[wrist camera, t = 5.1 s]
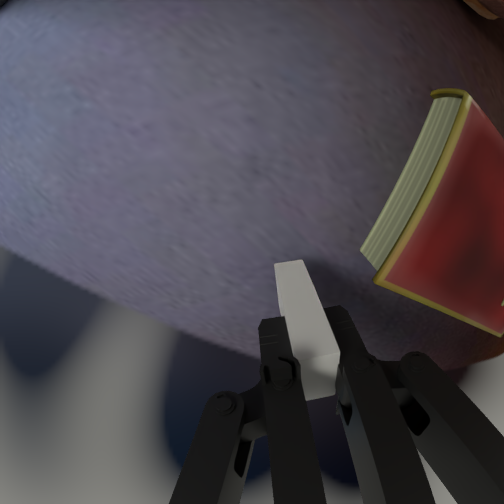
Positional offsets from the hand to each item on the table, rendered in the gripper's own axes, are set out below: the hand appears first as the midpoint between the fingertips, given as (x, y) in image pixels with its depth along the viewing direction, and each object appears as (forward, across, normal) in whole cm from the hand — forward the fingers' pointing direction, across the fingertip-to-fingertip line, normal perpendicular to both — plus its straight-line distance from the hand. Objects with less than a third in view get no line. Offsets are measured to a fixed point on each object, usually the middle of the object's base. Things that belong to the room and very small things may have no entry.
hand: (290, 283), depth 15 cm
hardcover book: (+2, +16, 0) cm, 16 cm away
